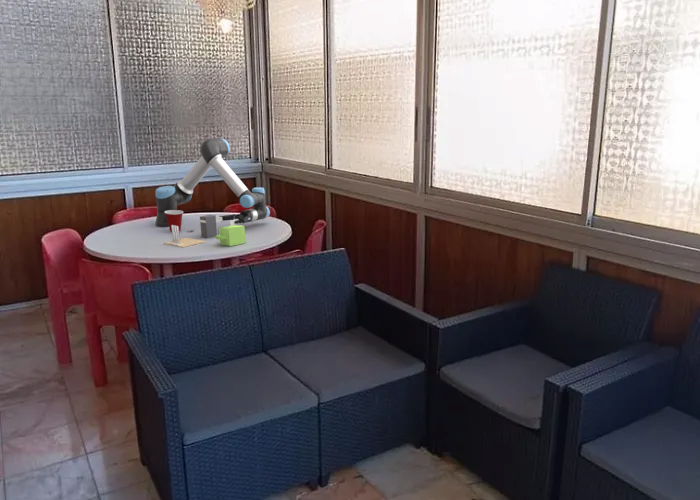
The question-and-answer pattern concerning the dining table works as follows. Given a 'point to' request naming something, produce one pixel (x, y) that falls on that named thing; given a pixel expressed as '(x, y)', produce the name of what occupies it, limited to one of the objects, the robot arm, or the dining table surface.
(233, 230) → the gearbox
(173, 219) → the plastic cup
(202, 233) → the plug housing
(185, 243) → the board
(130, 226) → the dining table surface
